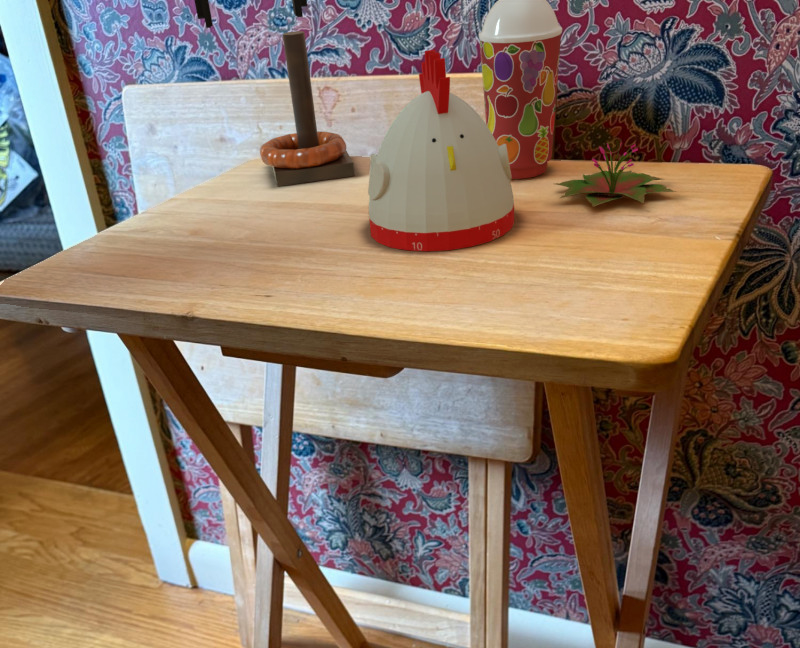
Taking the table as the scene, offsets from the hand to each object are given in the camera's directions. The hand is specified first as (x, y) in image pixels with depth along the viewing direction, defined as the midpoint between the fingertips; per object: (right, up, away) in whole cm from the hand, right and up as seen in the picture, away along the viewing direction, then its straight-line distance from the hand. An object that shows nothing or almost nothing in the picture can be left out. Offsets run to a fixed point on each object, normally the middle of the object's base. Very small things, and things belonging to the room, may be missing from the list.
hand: (254, 20), depth 96 cm
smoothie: (+29, -15, +3) cm, 33 cm away
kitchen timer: (+20, -26, -10) cm, 34 cm away
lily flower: (+37, -21, -6) cm, 43 cm away
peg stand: (+5, -12, +10) cm, 17 cm away
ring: (+4, -10, +9) cm, 14 cm away
